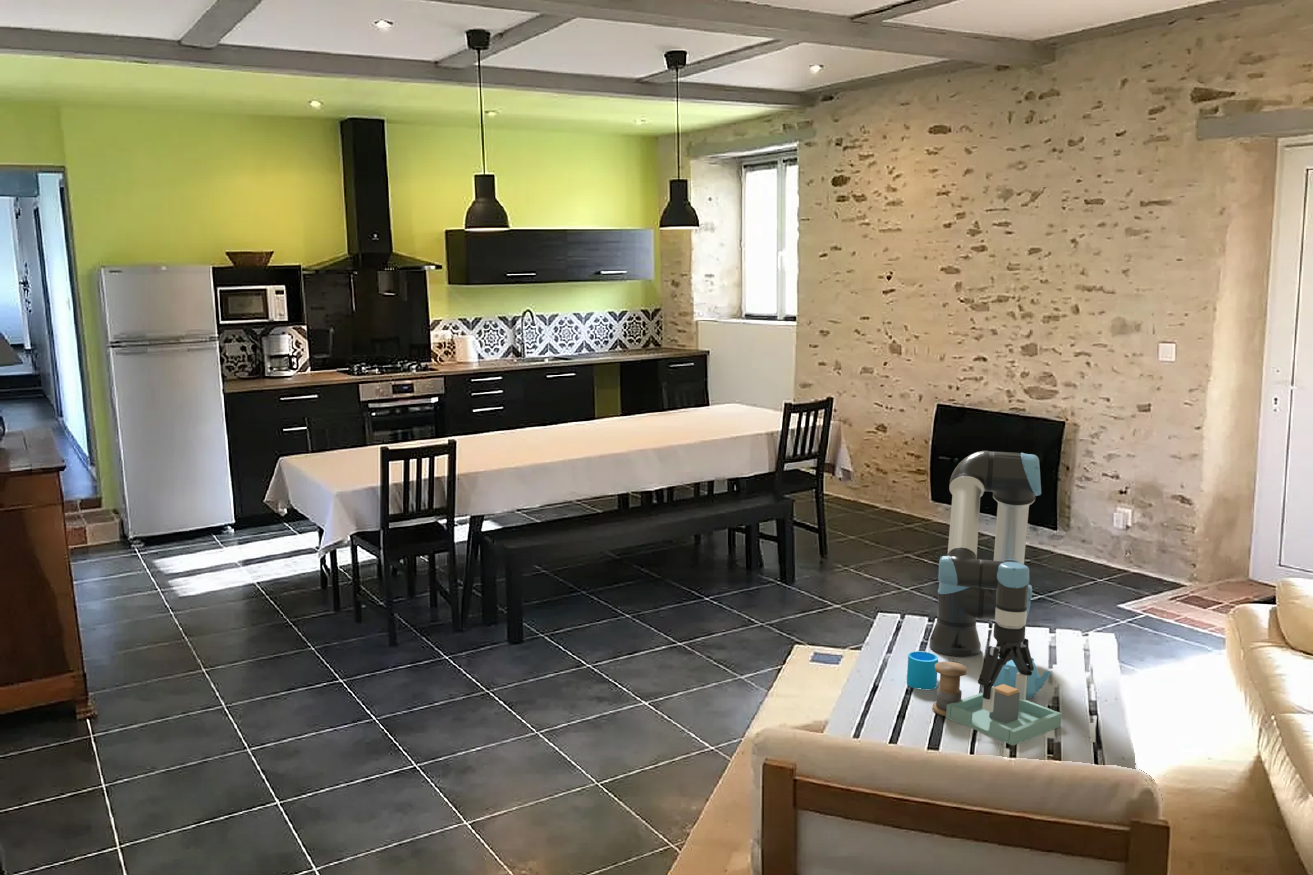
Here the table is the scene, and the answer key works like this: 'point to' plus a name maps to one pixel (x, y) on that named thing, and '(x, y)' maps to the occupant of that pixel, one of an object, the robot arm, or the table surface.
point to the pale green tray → (1026, 727)
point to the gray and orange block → (1005, 704)
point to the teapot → (1033, 681)
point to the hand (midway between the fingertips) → (1004, 704)
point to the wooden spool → (948, 685)
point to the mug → (922, 670)
